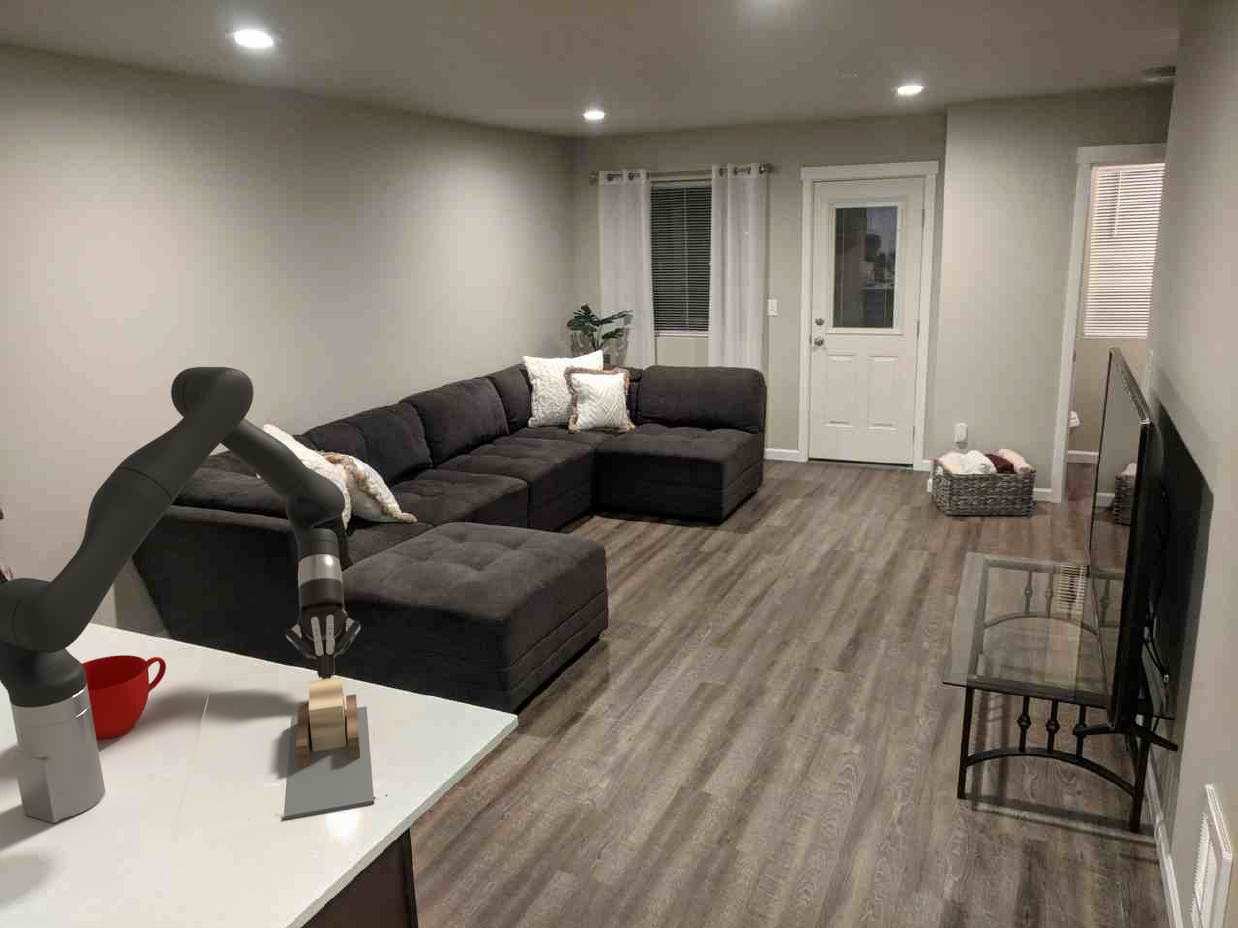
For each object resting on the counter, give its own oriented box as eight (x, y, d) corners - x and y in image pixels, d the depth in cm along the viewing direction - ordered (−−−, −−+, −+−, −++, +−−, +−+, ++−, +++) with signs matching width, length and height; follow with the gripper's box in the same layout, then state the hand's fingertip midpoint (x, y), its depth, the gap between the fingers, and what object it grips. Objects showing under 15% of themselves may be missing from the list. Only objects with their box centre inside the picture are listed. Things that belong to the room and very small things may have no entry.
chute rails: (360, 757, 143) (358, 736, 142) (298, 767, 140) (296, 746, 139) (357, 713, 156) (356, 694, 155) (300, 721, 153) (298, 702, 152)
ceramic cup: (193, 710, 158) (186, 656, 156) (96, 758, 144) (86, 699, 142) (147, 692, 165) (139, 640, 162) (49, 736, 151) (39, 680, 148)
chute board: (374, 803, 132) (373, 800, 132) (284, 819, 129) (284, 816, 129) (366, 708, 158) (366, 706, 158) (291, 720, 155) (291, 717, 155)
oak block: (346, 746, 146) (342, 705, 144) (312, 751, 145) (308, 710, 143) (345, 715, 155) (341, 676, 154) (313, 719, 154) (309, 681, 152)
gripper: (279, 581, 162) (283, 677, 154) (358, 572, 166) (366, 665, 157) (283, 598, 168) (287, 691, 160) (359, 589, 172) (367, 680, 163)
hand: (326, 678), depth 159 cm, fingers closed
